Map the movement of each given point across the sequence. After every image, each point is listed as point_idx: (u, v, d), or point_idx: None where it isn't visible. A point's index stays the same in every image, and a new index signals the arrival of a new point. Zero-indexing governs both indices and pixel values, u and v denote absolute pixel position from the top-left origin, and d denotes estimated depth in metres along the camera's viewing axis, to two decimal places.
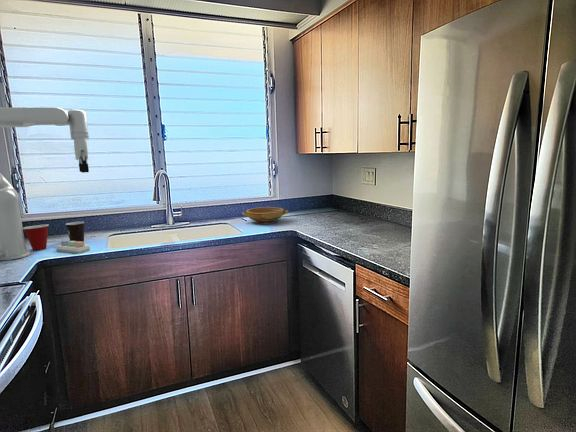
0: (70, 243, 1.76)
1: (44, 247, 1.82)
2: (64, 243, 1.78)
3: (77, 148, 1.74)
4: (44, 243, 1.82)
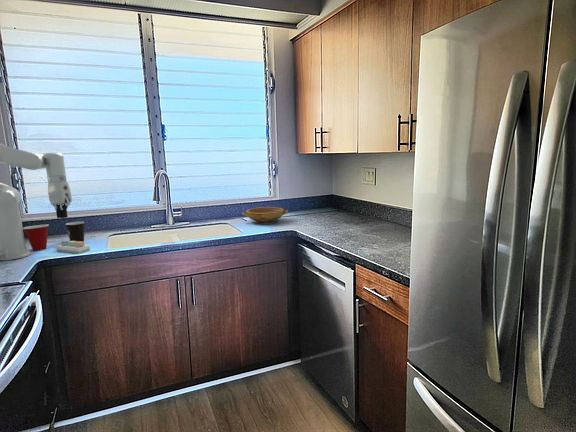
0: (70, 243, 1.76)
1: (44, 247, 1.82)
2: (64, 243, 1.78)
3: None
4: (44, 243, 1.82)
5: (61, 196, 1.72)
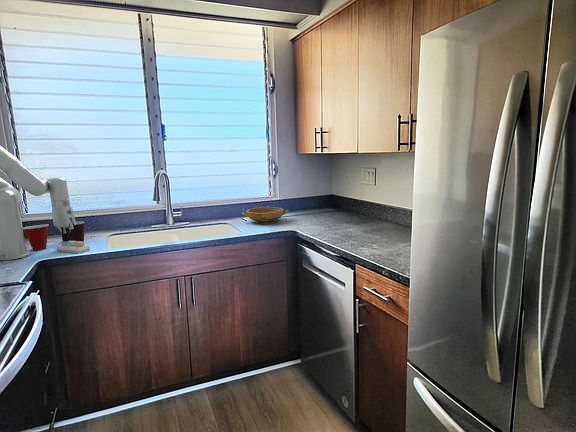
0: (70, 243, 1.76)
1: (44, 247, 1.82)
2: (64, 243, 1.78)
3: None
4: (44, 243, 1.82)
5: (65, 220, 1.74)
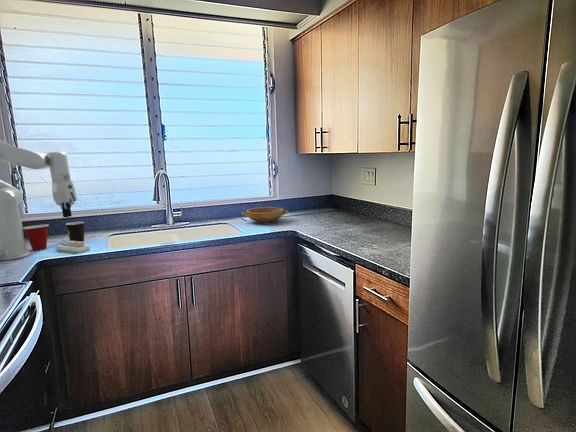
0: (70, 243, 1.76)
1: (44, 247, 1.82)
2: (65, 245, 1.78)
3: None
4: (44, 243, 1.82)
5: (66, 195, 1.71)
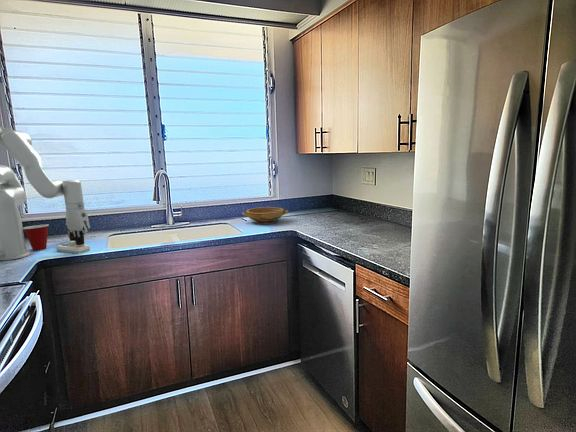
0: (70, 243, 1.76)
1: (44, 247, 1.82)
2: (65, 245, 1.78)
3: None
4: (44, 243, 1.82)
5: (79, 224, 1.70)
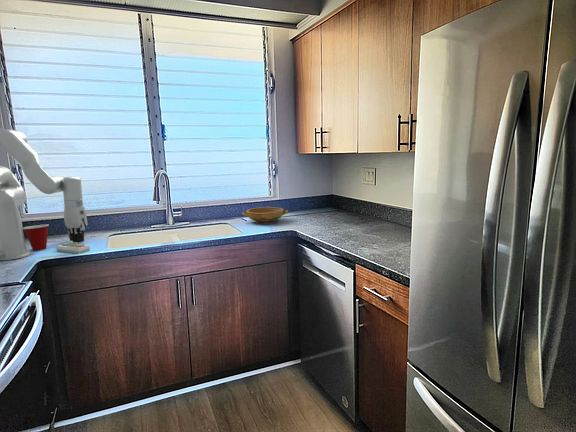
0: (70, 243, 1.76)
1: (44, 247, 1.82)
2: (65, 245, 1.78)
3: None
4: (44, 243, 1.82)
5: (77, 221, 1.70)
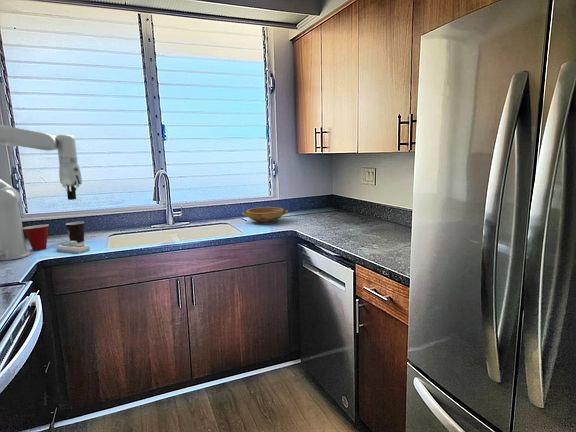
0: (70, 243, 1.76)
1: (44, 247, 1.82)
2: (65, 245, 1.78)
3: None
4: (44, 243, 1.82)
5: (71, 178, 1.73)
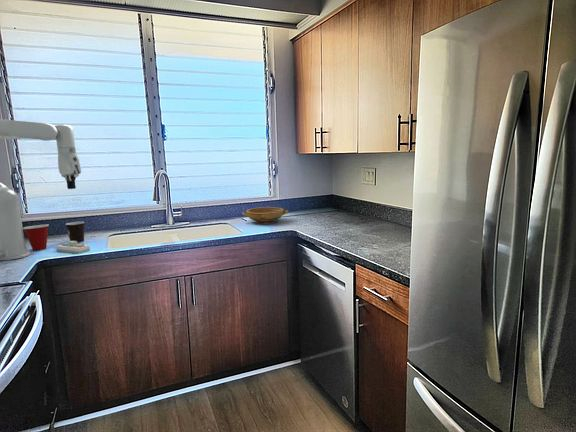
0: (70, 243, 1.76)
1: (44, 247, 1.82)
2: (65, 245, 1.78)
3: None
4: (44, 243, 1.82)
5: (71, 167, 1.77)
